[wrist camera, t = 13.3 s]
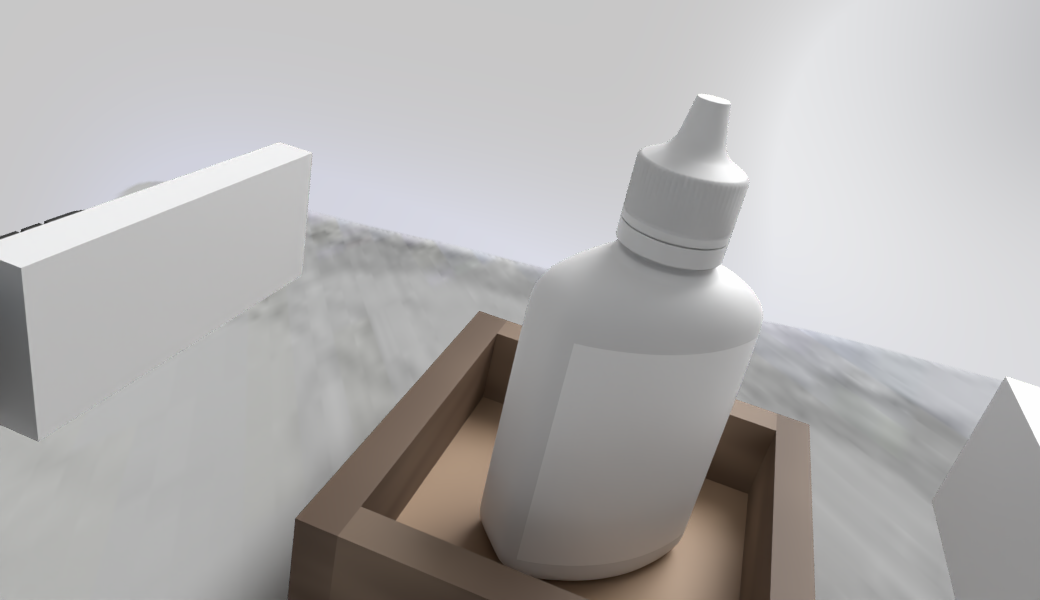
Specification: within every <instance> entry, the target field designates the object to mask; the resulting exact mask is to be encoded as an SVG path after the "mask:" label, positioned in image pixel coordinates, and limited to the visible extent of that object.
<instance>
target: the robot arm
mask: <svg viewBox="0 0 1040 600" xmlns="http://www.w3.org/2000/svg"><path fill="white" fill-rule="evenodd" d="M312 154H313V153H311V152H308V151H305V150H302V149H299V148H296V147H293V146H289V145H287V144H284V143H280V142H278V143H275V144H273V145H270V146H267V147H264V148H261V149H258V150H255V151H252V152H249V153H247V154H244V155H241V156H238V157H235V158H233V159H229V160H227V161H224V162H221V163H218V164H215V165H212V166H209V167H207V168H204V169H201V170H198V171H195V172H192V173H190V174H186V175H184V176H181V177H178V178H175V179H172V180H170V181H166V182H164V183H161V184H158V185H155V186H152V187H149V188H146V189H144V190H141V191H138V192H135V193H132V194H129V195H126V196H123V197H121V198H118V199H115V200H112V201H109V202H106V203H103V204H101V205H98V206H95V207H92V208H89V209H86V210H80V211H73V212H70V213H67V214H64V215H61V216H58V217H56V218H52V219H49V220H47V221H44V224H40V223H38V224H35V225H32V226H29V227H26V228H24V229H21V232H20V233H19V232H16V231H15V232H12V233H9V234H6V235H3V236H0V425H2V426H4V427H6V428H9V429H11V430H13V431H15V432H18V433H20V434H22V435H24V436H27V437H29V438H31V439H33V440H36V441H38V442H39V441H40V440H42V439H43V438H45V437H47V436H48V435H50V434H51V433H53V432H55V431H56V430H58V429H59V428H61V427H62V426H64V425H66V424H67V423H69V422H70V421H72V420H74V419H75V418H77V417H78V416H80V415H81V414H83V413H85V412H86V411H88V410H89V409H91V408H93V407H94V406H96V405H97V404H99V403H101V402H102V401H104V400H105V399H107V398H108V397H110V396H112V395H113V394H115V393H116V392H118V391H120V390H121V389H123V388H124V387H126V386H127V385H129V384H131V383H132V382H134V381H135V380H137V379H139V378H140V377H142V376H143V375H145V374H146V373H148V372H150V371H151V370H153V369H154V368H156V367H158V366H159V365H161V364H162V363H164V362H165V361H167V360H169V359H170V358H172V357H173V356H175V355H177V354H178V353H180V352H181V351H183V350H184V349H186V348H188V347H189V346H191V345H192V344H194V343H196V342H197V341H199V340H200V339H202V338H203V337H205V336H207V335H208V334H210V333H211V332H213V331H215V330H216V329H218V328H219V327H221V326H222V325H224V324H226V323H227V322H229V321H230V320H232V319H234V318H235V317H237V316H238V315H240V314H241V313H243V312H245V311H246V310H248V309H249V308H251V307H253V306H254V305H256V304H257V303H259V302H260V301H262V300H264V299H265V298H267V297H268V296H270V295H272V294H273V293H275V292H276V291H278V290H279V289H281V288H283V287H284V286H286V285H287V284H289V283H291V282H292V281H294V280H295V279H297V278H298V277H300V276H302V271H303V259H304V248H305V236H306V224H307V212H308V200H309V189H310V177H311V165H312ZM932 504H933V508H934V512H935V516H936V521H937V525H938V529H939V533H940V537H941V541H942V546H943V550H944V554H945V558H946V562H947V567H948V571H949V575H950V579H951V583H952V587H953V592H954V596H955V600H1040V387H1037V386H1034V385H1031V384H1028V383H1025V382H1022V381H1019V380H1015V379H1012V378H1009V377H1005V378H1004V380H1003V382H1002V383H1001V385H1000V387H999V388H998V390H997V392H996V393H995V395H994V397H993V399H992V400H991V402H990V404H989V405H988V407H987V409H986V410H985V412H984V414H983V415H982V417H981V419H980V421H979V422H978V424H977V426H976V427H975V429H974V431H973V432H972V434H971V436H970V437H969V439H968V441H967V443H966V444H965V446H964V448H963V449H962V451H961V453H960V454H959V456H958V458H957V460H956V461H955V463H954V465H953V466H952V468H951V470H950V471H949V473H948V475H947V476H946V478H945V480H944V482H943V483H942V485H941V487H940V488H939V490H938V492H937V493H936V495H935V497H934V498H933V500H932Z"/></svg>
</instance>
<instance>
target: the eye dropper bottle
mask: <svg viewBox="0 0 1040 600" xmlns="http://www.w3.org/2000/svg"><path fill="white" fill-rule="evenodd" d="M730 108H731V102H729V101H727V100H725V99H723V98H719V97H716V96H712V95H706V94H698V95H697V97H696V99H695V101H694V103H693V105H692V107H691V109H690V111H689V113H688V115H687V117H686V119H685V121H684V123H683V125H682V127H681V129H680V130H679V132H678V134H677V135H676V136H675V137H674V138H672V139H671V140H670V141H668V142H666V143H661V144H655V145H651V146H647V147H644V148H643V149H641V150H640V151H639V152H638V154H637V158H636V162H635V165H634V169H633V172H632V176H631V180H630V183H629V187H628V191H627V194H626V198H625V202H624V206H623V209H622V213H621V217H620V220H619V224H618V227H617V231H616V235H617V238H618V239H617V240H616V241H613V242H610V243H606V244H603V245H600V246H597V247H593V248H591V249H588V250H585V251H583V252H580V253H578V254H575V255H573V256H571V257H569V258H566V259H564V260H563V261H561V262H559V263H557V264H555V265H553V266H552V267H551V268H549V269H548V270H547V271H546V272H545V273H544V274H543V275H542V276H541V277H540V278H539V279H538V280H537V282H536V283H535V285H534V287H533V290H532V292H531V295H530V298H529V301H528V305H527V309H526V313H525V317H524V321H523V325H522V328H521V332H520V336H519V340H518V345H517V349H516V353H515V358H514V362H513V366H512V370H511V375H510V379H509V383H508V387H507V392H506V396H505V400H504V405H503V409H502V413H501V417H500V422H499V426H498V431H497V435H496V439H495V444H494V448H493V452H492V457H491V461H490V466H489V470H488V474H487V479H486V483H485V488H484V492H483V496H482V501H481V506H480V517H481V522H482V524H483V526H484V529H485V531H486V533H487V536H488V538H489V540H490V542H491V544H492V546H493V548H494V551H495V552H496V554H497V556H498V558H499V560H500V561H501V562H502V564H503V565H505V566H508V567H510V568H512V569H515V570H517V571H520V572H522V573H525V574H527V575H530V576H532V577H534V578H539V579H548V580H561V581H583V580H596V579H603V578H609V577H614V576H619V575H622V574H626V573H629V572H632V571H635V570H637V569H639V568H642V567H644V566H646V565H648V564H650V563H652V562H654V561H656V560H657V559H659V558H661V557H662V556H664V555H665V554H666V553H668V552H669V551H670V550H671V549H672V548H673V547H674V546H676V545H677V544H678V542H679V541H680V539H681V538H682V535H683V533H684V531H685V528H686V526H687V523H688V521H689V518H690V515H691V513H692V510H693V508H694V505H695V503H696V500H697V497H698V495H699V492H700V490H701V487H702V485H703V482H704V479H705V477H706V474H707V472H708V469H709V467H710V464H711V461H712V459H713V456H714V454H715V451H716V449H717V446H718V443H719V441H720V438H721V436H722V433H723V430H724V428H725V425H726V423H727V420H728V417H729V415H730V412H731V410H732V407H733V404H734V402H735V399H736V396H737V394H738V391H739V389H740V386H741V383H742V381H743V378H744V376H745V373H746V370H747V367H748V365H749V362H750V359H751V356H752V353H753V351H754V348H755V345H756V342H757V339H758V337H759V334H760V330H761V326H762V321H763V309H762V305H761V303H760V301H759V299H758V297H757V296H756V294H755V293H754V292H753V290H752V289H751V288H750V287H749V286H748V285H747V284H746V283H745V282H744V281H743V280H742V279H741V278H739V277H738V276H737V275H736V274H735V273H733V272H732V271H730V270H729V269H728V268H726V267H724V266H723V265H721V263H722V261H723V258H724V255H725V252H726V249H727V246H728V244H729V241H730V238H731V235H732V232H733V229H734V226H735V223H736V220H737V217H738V215H739V212H740V209H741V206H742V203H743V200H744V197H745V195H746V191H747V189H748V186H749V183H750V182H749V178H748V176H747V174H746V173H745V172H744V171H743V170H742V169H741V168H740V167H738V166H737V165H736V164H735V163H734V162H733V161H731V159H730V158H729V156H728V153H727V150H726V140H727V132H728V124H729V116H730Z"/></svg>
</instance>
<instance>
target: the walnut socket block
mask: <svg viewBox="0 0 1040 600" xmlns="http://www.w3.org/2000/svg"><path fill="white" fill-rule="evenodd" d="M521 328H522V326H521V325H518V324H516V323H513V322H510V321H507V320H504V319H501V318H498V317H495V316H492V315H489V314H487V313H484V312H481V311H479V312H478V313H477V314H476V315H475V317H474V318H473V319H472V320H471V321H470V322H469V323H468V324H467V326H466V327H465V328H464V329H463V330H462V331H461V332H460V333H459V335H458V336H457V337H456V338H455V339H454V340H453V341H452V342H451V344H450V345H449V346H448V347H447V348H446V349H445V350H444V352H443V353H442V354H441V355H440V356H439V357H438V358H437V359H436V361H435V362H434V363H433V364H432V365H431V366H430V367H429V368H428V370H427V371H426V372H425V373H424V374H423V375H422V376H421V377H420V379H419V380H418V381H417V382H416V383H415V384H414V385H413V386H412V388H411V389H410V390H409V391H408V392H407V393H406V394H405V395H404V397H403V398H402V399H401V400H400V401H399V402H398V403H397V405H396V406H395V407H394V408H393V409H392V410H391V411H390V412H389V414H388V415H387V416H386V417H385V418H384V419H383V420H382V421H381V423H380V424H379V425H378V426H377V427H376V428H375V429H374V430H373V432H372V433H371V434H370V435H369V436H368V437H367V438H366V439H365V441H364V442H363V443H362V444H361V445H360V446H359V447H358V448H357V450H356V451H355V452H354V453H353V454H352V455H351V456H350V458H349V459H348V460H347V461H346V462H345V463H344V464H343V465H342V467H341V468H340V469H339V470H338V471H337V472H336V473H335V474H334V476H333V477H332V478H331V479H330V480H329V481H328V482H327V483H326V485H325V486H324V487H323V488H322V489H321V490H320V491H319V492H318V494H317V495H316V496H315V497H314V498H313V499H312V500H311V501H310V503H309V504H308V505H307V506H306V507H305V508H304V509H303V511H302V512H301V513H300V514H299V515H298V516H297V517H296V518H295V529H294V539H293V550H292V560H291V571H290V581H289V592H288V600H815V580H814V551H813V521H812V491H811V462H810V432H809V424H806V423H803V422H800V421H797V420H794V419H791V418H788V417H785V416H782V415H780V414H777V413H774V412H771V411H768V410H765V409H762V408H759V407H756V406H753V405H751V404H748V403H745V402H742V401H739V400H736V399H735V402H734V404H733V407H732V410H731V412H730V415H729V417H728V420H727V423H726V425H725V428H724V430H723V433H722V436H721V438H720V441H719V443H718V446H717V449H716V451H715V454H714V456H713V459H712V461H711V464H710V467H709V469H708V472H707V474H706V477H705V479H704V482H703V485H702V487H701V490H700V492H699V495H698V497H697V500H696V503H695V505H694V508H693V510H692V513H691V515H690V518H689V521H688V523H687V526H686V528H685V531H684V533H683V535H682V538H681V539H680V541H679V542H678V544H677V545H676V546H674V547H673V548H672V549H671V550H670V551H669V552H668V553H666V554H665V555H664V556H662V557H661V558H659V559H657V560H656V561H654V562H652V563H650V564H648V565H646V566H644V567H642V568H639V569H637V570H635V571H632V572H629V573H626V574H622V575H619V576H614V577H609V578H603V579H596V580H583V581H561V580H548V579H539V578H534V577H532V576H530V575H527V574H525V573H522V572H520V571H517V570H515V569H512V568H510V567H508V566H505V565H503V564H502V562H501V561H500V560H499V558H498V556H497V554H496V552H495V551H494V548H493V546H492V544H491V542H490V540H489V538H488V536H487V533H486V531H485V529H484V526H483V524H482V522H481V517H480V506H481V501H482V496H483V492H484V488H485V483H486V479H487V474H488V470H489V466H490V461H491V457H492V452H493V448H494V444H495V439H496V435H497V431H498V426H499V422H500V417H501V413H502V409H503V405H504V400H505V396H506V392H507V387H508V383H509V379H510V375H511V370H512V366H513V362H514V358H515V353H516V349H517V345H518V340H519V336H520V332H521Z"/></svg>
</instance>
